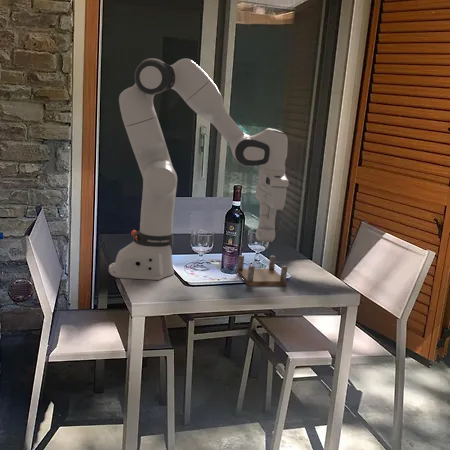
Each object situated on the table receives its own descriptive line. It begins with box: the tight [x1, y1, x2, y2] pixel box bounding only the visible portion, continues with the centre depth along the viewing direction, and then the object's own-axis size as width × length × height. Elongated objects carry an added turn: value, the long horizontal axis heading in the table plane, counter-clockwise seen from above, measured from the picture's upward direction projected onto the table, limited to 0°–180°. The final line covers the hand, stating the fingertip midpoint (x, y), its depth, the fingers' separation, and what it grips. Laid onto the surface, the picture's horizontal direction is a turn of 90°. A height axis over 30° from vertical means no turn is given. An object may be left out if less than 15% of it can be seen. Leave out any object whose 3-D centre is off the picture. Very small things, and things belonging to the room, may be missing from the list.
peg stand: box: [236, 254, 289, 287], centre depth 203 cm, size 14×14×6 cm
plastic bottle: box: [255, 188, 277, 243], centre depth 198 cm, size 6×7×20 cm
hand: (267, 216), depth 198 cm, fingers closed on plastic bottle, 6 cm apart
